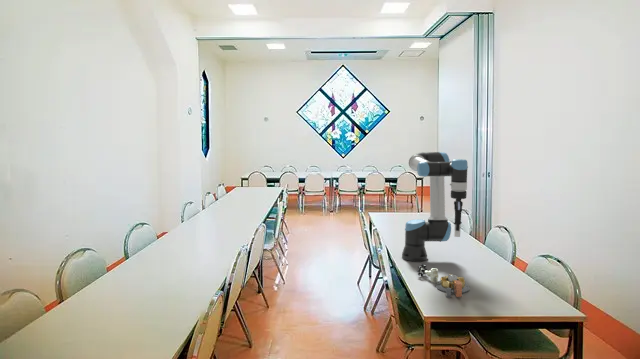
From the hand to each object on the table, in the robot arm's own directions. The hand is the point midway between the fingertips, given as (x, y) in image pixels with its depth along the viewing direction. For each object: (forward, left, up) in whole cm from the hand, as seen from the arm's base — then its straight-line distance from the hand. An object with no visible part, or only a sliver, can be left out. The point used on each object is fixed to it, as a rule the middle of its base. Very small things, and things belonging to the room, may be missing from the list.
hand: (457, 236), depth 215 cm
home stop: (+19, -4, -24) cm, 31 cm away
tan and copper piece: (+12, -1, -23) cm, 26 cm away
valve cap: (+7, -2, -24) cm, 25 cm away
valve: (-2, -13, -25) cm, 28 cm away
